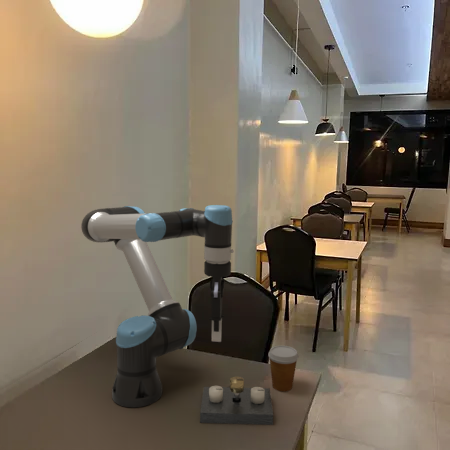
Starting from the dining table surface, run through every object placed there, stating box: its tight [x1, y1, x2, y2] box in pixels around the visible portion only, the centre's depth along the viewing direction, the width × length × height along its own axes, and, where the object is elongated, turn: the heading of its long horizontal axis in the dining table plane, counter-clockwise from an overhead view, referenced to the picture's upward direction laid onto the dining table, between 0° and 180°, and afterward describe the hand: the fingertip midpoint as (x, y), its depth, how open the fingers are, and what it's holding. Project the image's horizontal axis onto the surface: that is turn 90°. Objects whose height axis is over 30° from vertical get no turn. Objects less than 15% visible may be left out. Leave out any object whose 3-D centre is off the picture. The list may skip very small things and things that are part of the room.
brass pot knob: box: [229, 376, 245, 401], centre depth 128 cm, size 4×4×6 cm
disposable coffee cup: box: [267, 345, 300, 393], centre depth 141 cm, size 10×10×12 cm
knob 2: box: [250, 386, 265, 404], centre depth 128 cm, size 4×4×6 cm
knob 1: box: [209, 385, 223, 403], centre depth 129 cm, size 4×4×6 cm
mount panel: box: [199, 386, 274, 426], centre depth 129 cm, size 20×14×3 cm
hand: (216, 340), depth 128 cm, fingers closed
